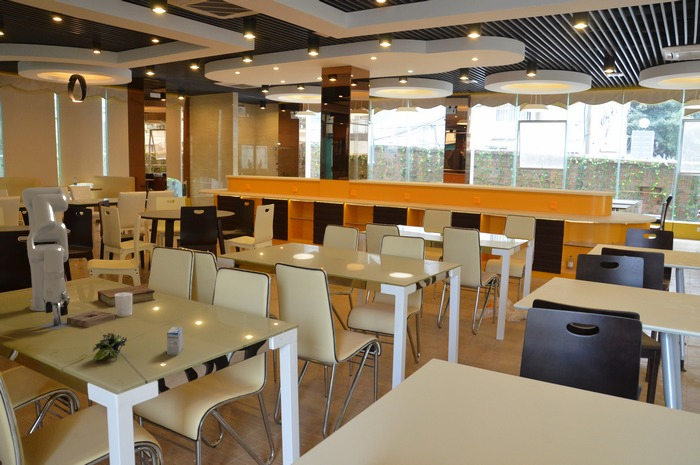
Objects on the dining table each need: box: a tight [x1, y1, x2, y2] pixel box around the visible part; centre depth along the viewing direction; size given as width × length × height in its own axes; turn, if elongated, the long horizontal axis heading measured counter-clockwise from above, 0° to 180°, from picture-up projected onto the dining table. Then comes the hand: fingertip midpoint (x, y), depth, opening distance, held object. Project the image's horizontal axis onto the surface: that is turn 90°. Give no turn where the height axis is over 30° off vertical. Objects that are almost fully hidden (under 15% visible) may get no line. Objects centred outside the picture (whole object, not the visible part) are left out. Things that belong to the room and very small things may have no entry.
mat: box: [38, 320, 75, 331], centre depth 248 cm, size 12×10×1 cm
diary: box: [97, 284, 156, 308], centre depth 295 cm, size 23×19×6 cm
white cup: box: [115, 292, 133, 318], centre depth 266 cm, size 8×8×10 cm
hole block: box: [66, 309, 116, 328], centre depth 254 cm, size 14×14×3 cm
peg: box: [52, 302, 62, 326], centre depth 247 cm, size 3×3×10 cm
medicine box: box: [166, 326, 184, 356], centre depth 215 cm, size 8×4×9 cm, turn 5°
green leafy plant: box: [92, 332, 127, 363], centre depth 207 cm, size 11×11×12 cm
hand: (56, 313), depth 247 cm, fingers open, 9 cm apart
